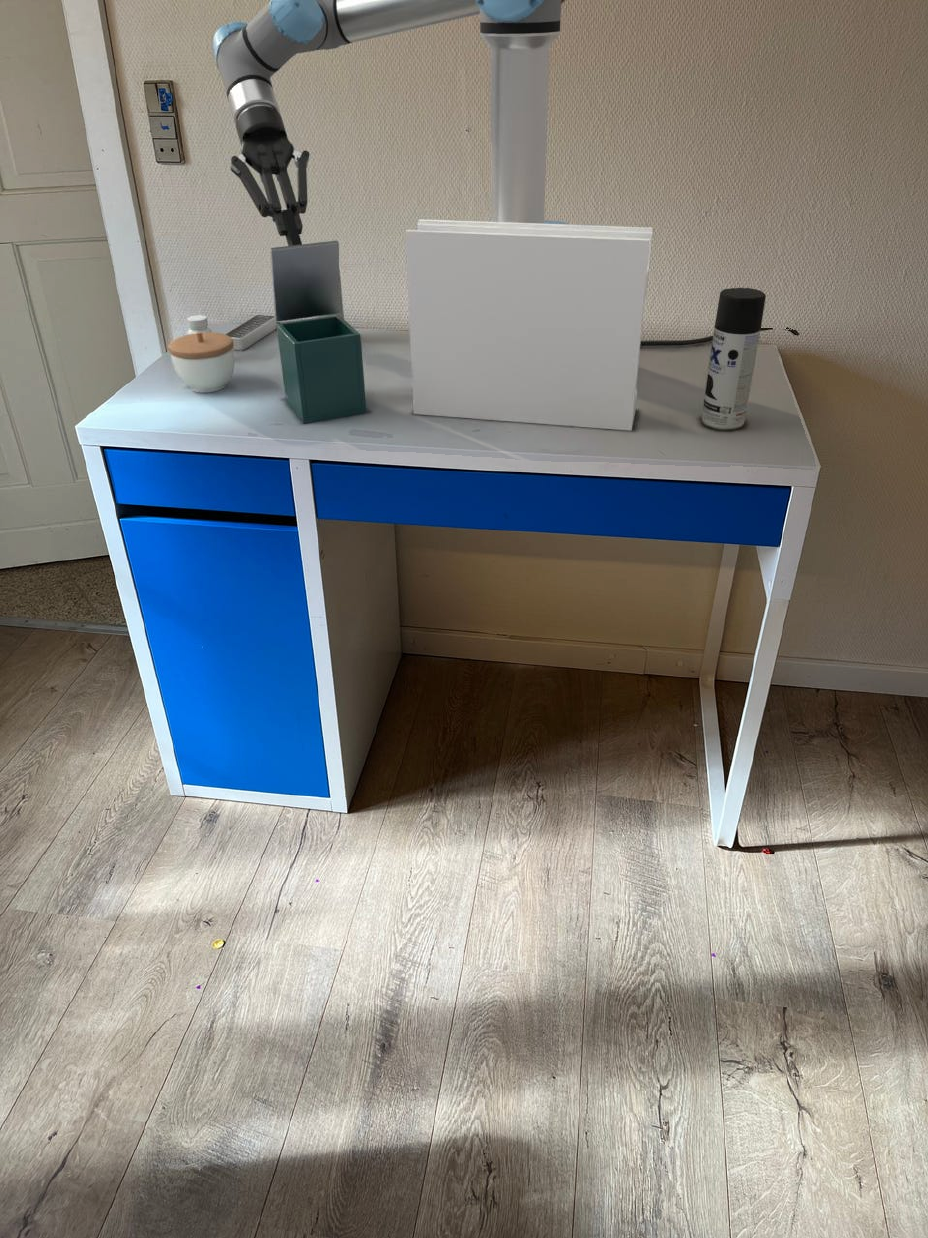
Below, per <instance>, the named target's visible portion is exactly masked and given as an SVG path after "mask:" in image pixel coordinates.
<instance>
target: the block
mask: <svg viewBox="0 0 928 1238" xmlns="http://www.w3.org/2000/svg"><path fill="white" fill-rule="evenodd" d="M416 228H417V229H406V230H405V231H404V232H405V233H404V234H405V255H406V279H407V298H408V300H407V301H408V319H409V320H408V321H409V342H410V344H409V345H410V363H411V385H412V405H413V415H421V416H422V415H425V416H436V417H450V418H460V419H461V418H463V419H475V420H487V421H499V422H501V421H502V422H513V423H525V424H526V423H528V424H540V425H552V426H565V427H578V428H590V429H591V428H592V429H605V430H606V429H607V430H617V431H630V432H632V430H633V425H634V420H635V414H636V408H637V398H638V389H637V384H638V374H639V363H640V353H641V346H640V343H641V341H642V332H643V322H644V310H645V303H646V296H647V291H648V284H649V275H650V273H649V272H650V262H651V253H652V244H653V233H654V227H650V226H648V227H645V226H619V225H592V224H569V225H567V224H539V223H511V222H491V221H478V220H451V219H426V218H425V219H423V218H420V219H417V227H416Z"/></svg>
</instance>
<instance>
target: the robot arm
mask: <svg viewBox="0 0 928 1238" xmlns="http://www.w3.org/2000/svg"><path fill="white" fill-rule="evenodd" d="M565 2H566V0H269V1H268V2H267V3H266V4H265V5H264V7H263V8H262V9H260V11H259V12H258V13H257V14H256V15H255V16H254V17H253V18H252V19H251V20H250V21H249V22H248V23H246V22H242V21H231V22H229V24H227V25H225V24H224V25H222V26H220V27H219V28H218V29H217V31H216V32H215V33H214V36H213V40H212V47H213V52H214V56H215V64H216V68H217V70H218V72H219V75H220V79H221V81H222V84H223V87H224V90H225V93H226V98H227V101H228V105H229V108H230V112H231V115H232V118H233V123H234V124H235V129H236V132H237V136H238V139H239V143H240V146H241V149H240V154H239V155H238V156H237V155H233V156H231V157H230V171H231V172H232V173H233V174H234V175H235V176H236V177H237V178H239V179H240V182H241V183H242V185H243V187H244V189H245V190H246V191H247V194H248V195H249V197H250V199H251V201H252V202H253V203H254V206H255V208H256V209H257V211H258V213H259V214H260V216H261V217H262V218H267V217H271V218H272V219H271V220H272V222H274V224H275V227H276V229H277V233H278V235H279V236H280V237H285V240H286V242H287V246H293V245H302V244H303V242H302V239H301V235H302V234H303V227H304V226H303V222H302V219H301V215H300V214H302V215H303V214H306V212H307V207H308V201H309V200H308V174H307V173H308V172H307V168H308V167H309V160H310V155H311V154H310V151H308V150H302V152H301V151H300V150H296V149H295V147H294V145H293V143H292V142H291V141H290V140H289V138H288V134H287V131H286V128H285V124H284V121H283V117H282V114H281V111H280V107H279V104H278V101H277V97H276V95H275V92H274V88H273V84H272V83H273V82H272V81H271V80H272V79H271V77H273V76H274V75H275V74H276V73H277V72H279V70H281V68H282V67H283V66H284V65H285V64H287V63H288V62H289V61H290V60H291V59H292V58H293V57H294V56H296V55H298V54H305V53H309V52H315V51H322V50H334V49H338V48H339V47H341V46H346V45H350V44H353V43H357V42H362V41H366V40H370V39H376V38H379V37H385V36H389V35H393V34H397V33H402V32H406V31H412V30H415V29H419V28H420V29H421V28H424V27H428V26H433V25H437V24H442V23H446V22H451V21H456V20H460V19H464V18H468V17H469V18H470V17H473V16H474V17H475V16H477V15H479V35H480V37H481V38H482V39H483V40H484V41H485V43H486V44H487V46H488V47H489V49H490V222H511V223H539V224H567V225H570V223H568V222H566V221H559V220H551V219H545V212H546V211H545V209H546V208H545V207H546V206H545V205H546V178H547V177H546V176H547V175H546V173H547V172H546V169H547V141H548V140H547V139H548V138H547V137H548V106H549V103H548V102H549V101H548V100H549V71H550V70H549V69H550V68H549V67H550V66H549V63H550V47H551V45H552V44H553V42H555V40H556V39H557V38H558V37H559V35H561V17H562V5H563V4H564V3H565ZM292 159H293V163H294V166H295V167H296V168H297V172H296V180H297V181H296V183H297V199H296V196H295V195H296V194H295V191H294V188H293V186H292V181H291V179H290V175H289V172H288V168H289V166H290V163H291V161H292ZM249 167H250V168H251V169H253V170H254V171H255V172H256V173H258V174H259V178H260V180H261V183H262V185H263V188H264V192H265V194H264V192H263V191H262V189H261V187H260V185H259V184H258V182H257V180H256V178H255V177H254V175H253V173H252V172H251V170H250V168H249ZM274 175H275V177H276V180H277V182H278V184H279V188H280V191H281V195H282V199H283V201H284V205H285V208H286V209H282V208H283V207H282V203H281V200H280V197H279V194H278V190H277V186H276V184H275V180H274ZM265 195H266V196H265ZM786 329H789V328H788V327H787V328H786ZM786 329H783V330H784V331H787V332H790V333H791V334H792V335H793V336H801V334H800V333H799V331H798V330H797V329H795V328H794V329H795V330H793V329H792V330H790V329H791V328H790V329H789V330H786ZM770 330H771V331H772V330H774V329H773V328H761V330H760V332H765V331H770ZM712 341H713V335H709V336H705V337H700V338H695V339H694V338H693V339H683V340H641V343H640V347H676V346H679V347H680V346H693V345H700V344H705V343H709V342H712Z"/></svg>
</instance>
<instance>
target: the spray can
mask: <svg viewBox="0 0 928 1238" xmlns="http://www.w3.org/2000/svg"><path fill="white" fill-rule="evenodd" d="M766 299H767V295H766V293H765V292H763V291H762V290H759V289H756V288H751V287H730V288H724V289H722V290H721V291H720V292H719V298H718V303H717V309H716V315H715V320H714V321H715V323H714V329H713V334H712V336H713V341H711V348H710V354H709V356H710V357H709V363H708V370H707V378H706V384H705V391H704V398H703V405H702V412H701V421H702V423H703V424H704V425H705V426H706V427H708V428H710V429H713V430H718V431H736V430H739V429H740V428H742V427H743V426H744V424H745V421H746V417H747V411H748V404H749V399H750V392H751V387H752V381H753V375H754V370H755V365H756V358H757V354H758V353H757V352H758V347H759V341H760V335H761V331H760V330H761V326H763V325H762V323H763V318H764V311H765V304H766Z"/></svg>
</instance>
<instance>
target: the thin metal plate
mask: <svg viewBox="0 0 928 1238" xmlns="http://www.w3.org/2000/svg"><path fill="white" fill-rule="evenodd" d="M269 251H270V264H271V265H270V268H271V280H272V281H271V282H272V295H273V296H272V297H273V309H274V311H273V312H274V316H275V320H276V322H277V323H280V322H287V321H292V320H293V321H294V320H299V319H300V320H301V319H309V318H312V317H315V316H322V315H329V314H336V313H340V294H339V269H340V242H339V241H338V240H329V241H321V242H320V241H319V242H312V243H302V245H293V246H288V245H285V246H276V247H269Z"/></svg>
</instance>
